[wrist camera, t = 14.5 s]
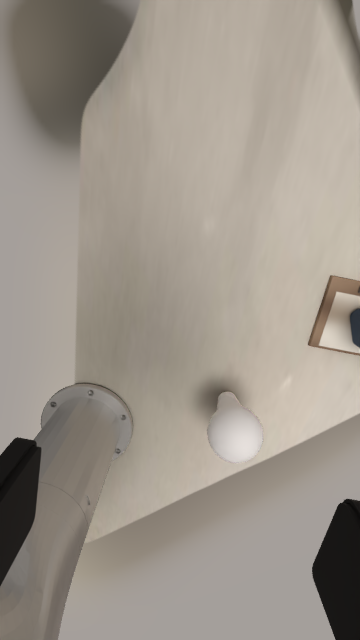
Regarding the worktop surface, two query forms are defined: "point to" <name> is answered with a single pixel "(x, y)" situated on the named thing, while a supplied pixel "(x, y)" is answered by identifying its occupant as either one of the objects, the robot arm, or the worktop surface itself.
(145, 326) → the worktop surface
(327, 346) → the clipboard
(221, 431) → the lightbulb
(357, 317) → the vaping device
